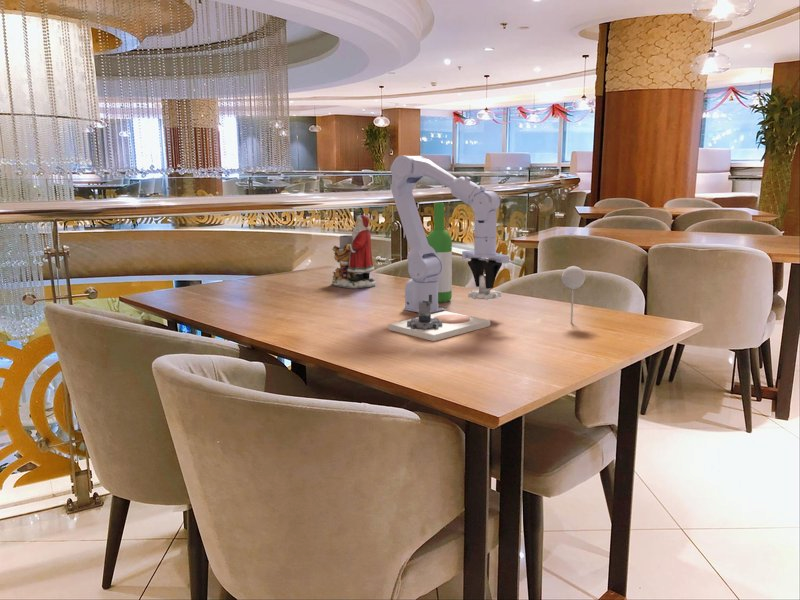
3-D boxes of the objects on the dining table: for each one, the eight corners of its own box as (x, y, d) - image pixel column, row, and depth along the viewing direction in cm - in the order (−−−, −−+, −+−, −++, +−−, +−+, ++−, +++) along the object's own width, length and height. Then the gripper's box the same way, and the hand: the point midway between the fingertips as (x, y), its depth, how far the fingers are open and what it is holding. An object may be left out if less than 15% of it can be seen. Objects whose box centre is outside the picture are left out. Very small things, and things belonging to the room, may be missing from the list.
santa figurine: (325, 283, 233) (323, 213, 228) (360, 279, 240) (360, 212, 234) (343, 291, 219) (342, 217, 213) (381, 287, 225) (380, 215, 220)
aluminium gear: (461, 297, 176) (461, 275, 175) (482, 292, 182) (482, 271, 180) (486, 301, 169) (486, 278, 168) (507, 296, 175) (507, 274, 174)
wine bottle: (451, 298, 204) (452, 201, 198) (451, 303, 196) (451, 203, 190) (427, 298, 204) (426, 202, 198) (425, 303, 197) (425, 203, 191)
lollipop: (566, 326, 166) (568, 268, 163) (555, 321, 172) (557, 265, 169) (587, 324, 168) (590, 267, 165) (576, 319, 174) (578, 264, 171)
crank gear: (399, 325, 163) (399, 293, 161) (424, 320, 168) (424, 289, 167) (424, 332, 156) (424, 298, 155) (449, 325, 162) (449, 293, 161)
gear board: (388, 329, 165) (388, 323, 165) (444, 316, 179) (444, 310, 179) (433, 341, 154) (433, 334, 153) (490, 325, 168) (490, 319, 167)
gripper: (454, 236, 175) (454, 285, 178) (497, 240, 164) (496, 292, 167) (472, 234, 179) (471, 282, 182) (514, 238, 169) (513, 289, 172)
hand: (484, 287), depth 175 cm, fingers closed on aluminium gear, 3 cm apart
